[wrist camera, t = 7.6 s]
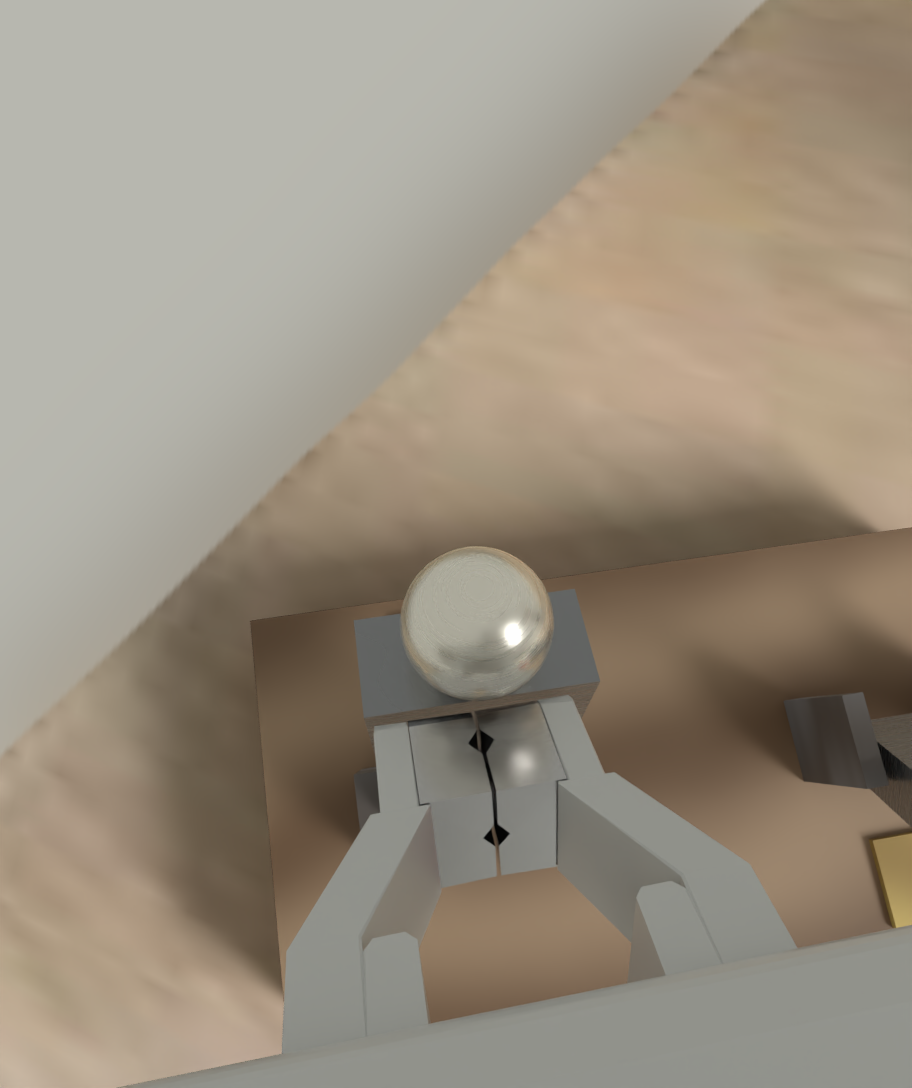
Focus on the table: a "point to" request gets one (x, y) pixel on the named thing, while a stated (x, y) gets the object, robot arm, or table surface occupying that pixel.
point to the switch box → (640, 756)
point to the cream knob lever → (473, 642)
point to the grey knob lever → (896, 763)
